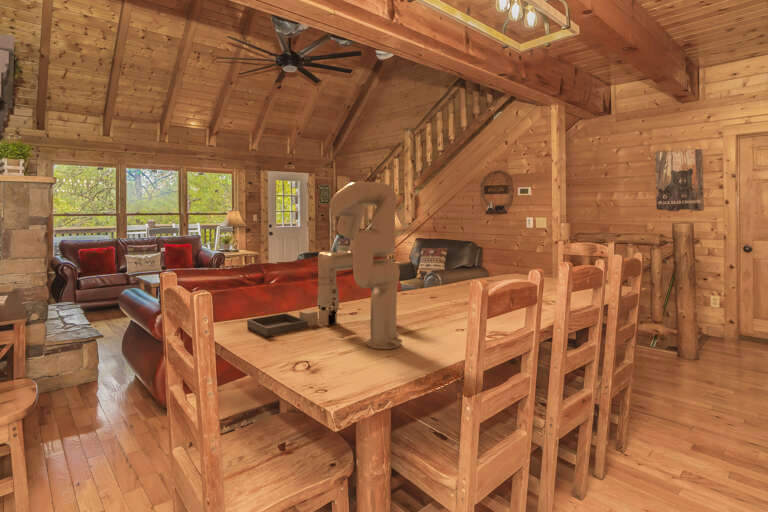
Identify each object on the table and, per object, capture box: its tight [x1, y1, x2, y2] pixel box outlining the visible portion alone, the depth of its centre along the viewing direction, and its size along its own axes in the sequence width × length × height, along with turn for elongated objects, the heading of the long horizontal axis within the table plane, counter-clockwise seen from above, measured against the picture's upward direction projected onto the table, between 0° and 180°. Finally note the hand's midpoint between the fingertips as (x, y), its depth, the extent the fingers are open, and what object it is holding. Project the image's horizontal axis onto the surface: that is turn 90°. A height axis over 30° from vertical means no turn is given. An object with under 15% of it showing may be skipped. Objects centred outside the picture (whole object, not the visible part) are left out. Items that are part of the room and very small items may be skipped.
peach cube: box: [318, 308, 338, 326], centre depth 192 cm, size 6×6×6 cm
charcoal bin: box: [246, 312, 309, 339], centre depth 185 cm, size 18×18×4 cm
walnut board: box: [307, 318, 342, 331], centre depth 192 cm, size 14×14×1 cm
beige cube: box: [299, 309, 319, 326], centre depth 190 cm, size 6×6×6 cm
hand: (327, 322), depth 192 cm, fingers closed on peach cube, 5 cm apart
